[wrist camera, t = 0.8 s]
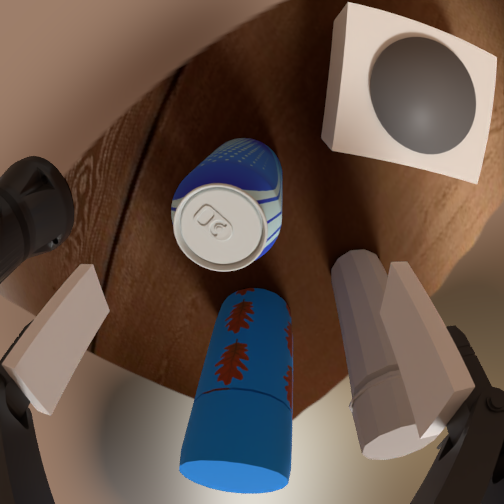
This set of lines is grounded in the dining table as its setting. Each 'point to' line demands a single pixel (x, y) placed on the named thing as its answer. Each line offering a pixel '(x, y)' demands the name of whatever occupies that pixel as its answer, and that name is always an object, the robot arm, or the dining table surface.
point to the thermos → (244, 399)
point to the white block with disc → (407, 93)
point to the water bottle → (372, 360)
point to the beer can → (230, 206)
